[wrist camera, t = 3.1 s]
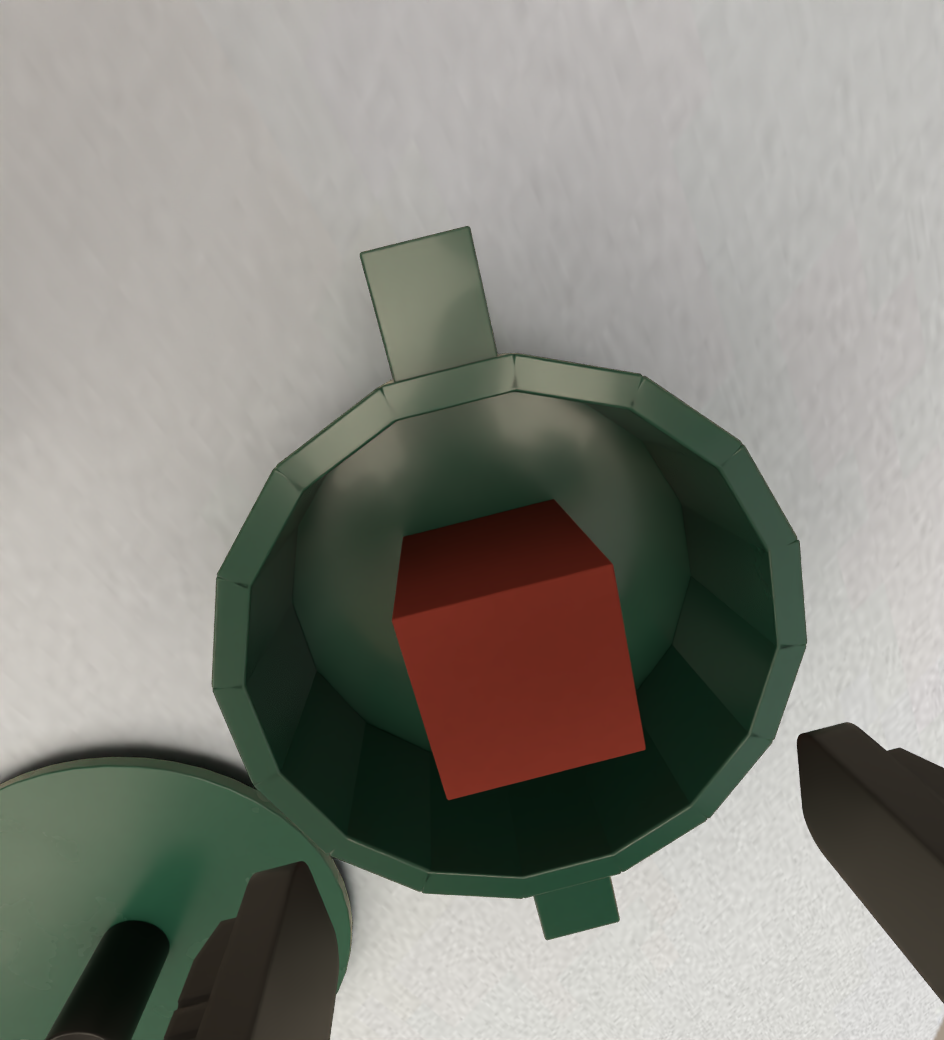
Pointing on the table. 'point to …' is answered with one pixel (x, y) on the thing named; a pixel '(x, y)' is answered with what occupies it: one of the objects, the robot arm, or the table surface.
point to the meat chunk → (515, 648)
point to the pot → (474, 494)
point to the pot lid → (129, 889)
